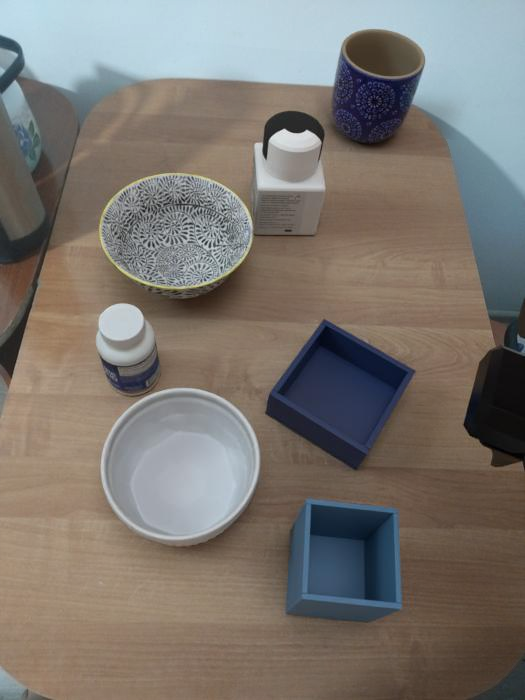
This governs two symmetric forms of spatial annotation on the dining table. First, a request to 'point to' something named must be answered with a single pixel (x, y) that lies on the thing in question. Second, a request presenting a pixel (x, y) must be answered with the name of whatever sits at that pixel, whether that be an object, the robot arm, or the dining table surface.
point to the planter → (375, 84)
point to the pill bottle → (127, 349)
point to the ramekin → (180, 466)
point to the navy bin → (339, 393)
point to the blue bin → (344, 562)
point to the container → (288, 176)
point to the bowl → (176, 233)
